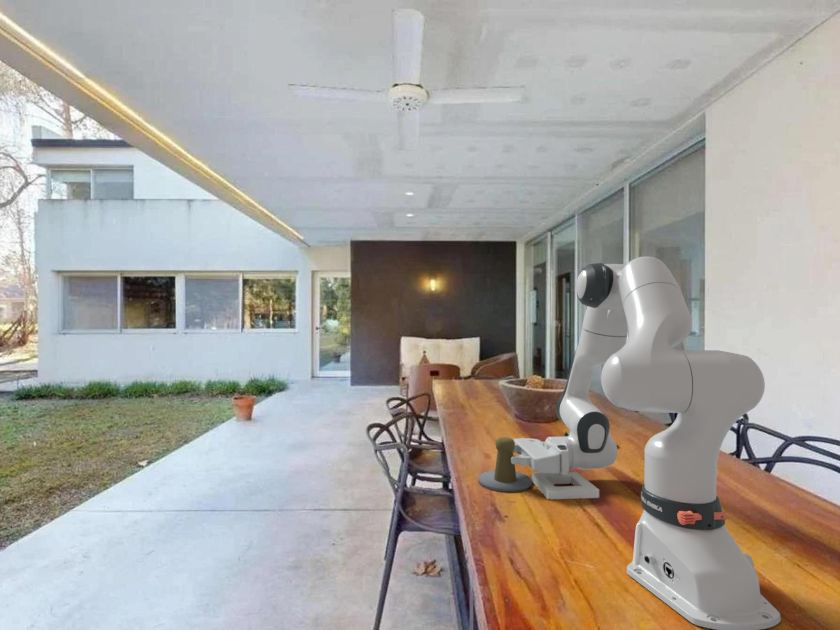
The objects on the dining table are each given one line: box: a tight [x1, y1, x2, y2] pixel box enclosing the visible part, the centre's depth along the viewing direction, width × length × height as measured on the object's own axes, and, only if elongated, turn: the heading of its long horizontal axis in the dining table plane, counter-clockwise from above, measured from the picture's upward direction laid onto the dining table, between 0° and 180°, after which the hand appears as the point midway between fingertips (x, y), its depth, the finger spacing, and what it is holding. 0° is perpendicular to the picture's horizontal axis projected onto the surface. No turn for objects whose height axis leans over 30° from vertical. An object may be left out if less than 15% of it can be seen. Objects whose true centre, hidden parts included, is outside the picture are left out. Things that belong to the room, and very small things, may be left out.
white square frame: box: [530, 471, 600, 500], centre depth 121 cm, size 13×13×2 cm
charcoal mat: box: [478, 469, 532, 493], centre depth 126 cm, size 14×14×1 cm
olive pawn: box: [494, 436, 517, 483], centre depth 126 cm, size 6×6×11 cm
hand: (505, 454), depth 126 cm, fingers open, 8 cm apart
